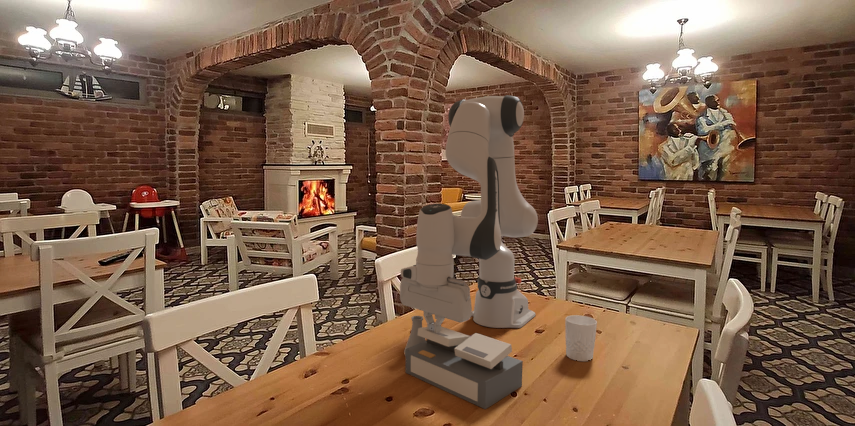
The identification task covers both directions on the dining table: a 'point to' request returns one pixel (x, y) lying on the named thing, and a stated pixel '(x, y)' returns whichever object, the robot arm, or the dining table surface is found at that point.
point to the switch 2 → (483, 350)
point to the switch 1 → (443, 336)
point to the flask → (415, 333)
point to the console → (463, 373)
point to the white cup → (580, 337)
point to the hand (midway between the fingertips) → (434, 330)
